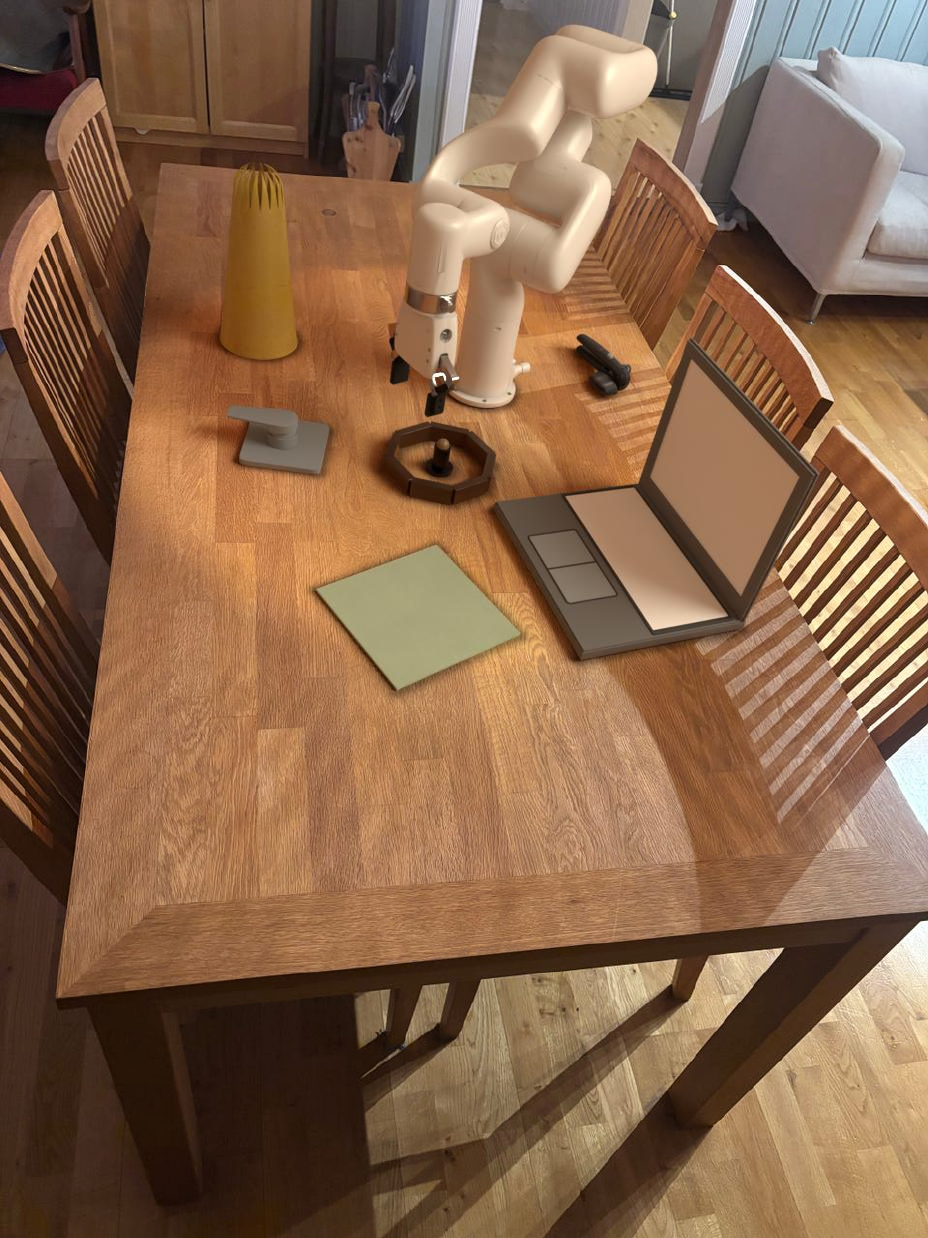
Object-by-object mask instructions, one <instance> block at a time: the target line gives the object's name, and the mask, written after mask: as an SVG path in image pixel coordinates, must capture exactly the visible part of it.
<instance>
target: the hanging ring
mask: <svg viewBox="0 0 928 1238" xmlns="http://www.w3.org/2000/svg"><path fill="white" fill-rule="evenodd" d="M440 439H446V440H447V441H448V442H449V444H450V446H454V447H455V446H456V447H459V448H463V449H465V450H466V451H467V452H468V453H469V454H470V455H471V456H472V457H473V458H474V459H475V460H476V461H478V462H479V464H481V465H482V466H483V472H482V474H481V475H478V476H475V477H471V478H469V479H466V480H463V481H460V482H457V483H454V484H449V483H444V482H440V481H436V480H435V481H434V480H430V479H427V478H426V479H425V478H422V477H416V476H414V475H413V474H412V472H410V470H409V469H407V468H406V466H404V465H403V464H402V463H401V461H399V459H398V458H397V457H398V455H399V452H400V450H402V449H405V448H407V447H411V446H415V445H418V444H421V443H424V442H427V441H432V442H435V443H436V442H438V440H440ZM496 458H497V453H496V451H495V450H494V449H492V448H491V447H490V445H488V444H487V443H486V442H485V441H484V440H482V438H480V436H479V435H478V434H476V433H475V432H474V431H473V430H470V429H469V428H464V427H460V426H455V425H452V424H451V425H450V424H446V423H442V422H436V421H432V420H431V421H430V422H429V420H427V421H424V422H421V423H417V424H413V425H410V426H406V427H403V428H400V429H399V428H398V429H396V430H395V431H394V432H392V434H391V437H390V440H389V442H388V445H387V448H386V451H385V453H384V457H383V472H384V473H385V474H386V475H387V476H388V477H389V478H390V480H392V481H393V482H394V483H395V485H397V487H398V488H399V489H401V491H402V492H403V493H404V494H405V495H406V496H407V495H408V496H409V497H411V498H417V499H421V500H425V501H429V502H434V503H440V504H443V505H448V506H450V505H453V506H456V505H457V504H461V503H462V502H466V501H469V500H471V499H475V498H477V497H480V496H483V495H486V494H487V493H489V490H490V485H491V481H492V477H493V472H494V468H495V464H496V460H497V459H496Z"/></svg>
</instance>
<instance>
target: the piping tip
mask: <svg viewBox="0 0 928 1238" xmlns="http://www.w3.org/2000/svg"><path fill="white" fill-rule="evenodd" d="M251 164H252V165H251ZM255 164H256V162H253V163H252V162H249V163H247V164H244V165H242V166H241V167H239V169H238V170H237V171H236V173H235V175H234V177H233V182H232V183H233V184H232V194H231V195H232V196H231V206H230V207H231V208H230V220H229V233H228V242H227V243H228V245H227V258H226V267H225V268H226V270H225V282H224V291H223V293H224V294H223V303H222V304H223V305H222V317H221V327H220V331H219V342H220V343H221V345H222V346H223V347H224V348H225V349H226V350H227V351H229V352H230V353H232V354H234V355H236V356H239V357H242V358H245V359H251V360H259V361H268V360H275V359H280V358H283V357H286V356H288V355H290V354H292V353H294V352H295V350H296V349H297V347H298V344H299V338H298V335H297V328H296V319H295V308H294V296H293V284H292V283H293V282H292V274H291V262H290V251H289V238H288V227H287V226H288V225H287V216H286V214H287V213H286V203H285V193H284V185H283V180H282V177H281V175H280V174H279V172H278V171H277V170H276V169H274V168H273V167H272V166H270V165H268V164H266V163H264V166H266V169H267V172H265V170H264V166H263V164H262V163H261V162H259V168H258V171H256V168H255V167H256V165H255ZM249 165H251V166H250V169H248V167H249ZM248 171H249V175H248V176H247V173H248ZM265 174H266V175H265ZM240 175H241V176H240ZM266 176H267V184H266ZM274 180H275V181H274Z"/></svg>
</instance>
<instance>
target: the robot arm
mask: <svg viewBox="0 0 928 1238" xmlns="http://www.w3.org/2000/svg"><path fill="white" fill-rule="evenodd" d="M657 76H658V59H657V56H656V53H655V52H654V51H653V50H652V49H651V48H650V47H649V46H647V45H644V44H643V43H642V44H641V43H639V42H635V41H632V40H629V39H626V38H623V37H621V36H617V35H614V34H612V33H609V32H606V31H603V30H599V29H596V28H593V27H590V26H586V25H581V24H567V25H564V26H562V27H560V28H559V29H558V30H557V31H556V32H555V33H554V35H547V36H546V37H543V38H542V39H540V40H539V41H538V42H537V43H536V45H535V46H534V47H533V49H531V51H530V53H529V55H528V57H527V59H526V60H525V62H524V64H523V65H522V67H521V69H520V71H519V72H518V74H517V75H516V78H515V79H514V80H513V82H512V84H511V86H510V88H509V89H508V91H507V93H506V95H505V96H504V98H503V100H502V101H501V102H500V104H499V106H498V108H497V110H496V112H495V113H494V115H493V116H492V117H491V118H490V119H489V120H486V121H484V122H482V123H479V124H477V125H475V126H473V127H471V128H469V129H467V130H465V131H464V132H461V133H460V134H459V135H457V136H456V137H454V138H453V139H451V140H450V141H448V142H447V143H446V144H445V145H444V146H442V147H441V149H440V150H439V151H438V152H437V153H436V154H435V156H434V158H433V159H432V161H431V162H430V164H429V165H428V168H427V169H426V171H425V173H424V174H423V176H422V178H421V179H420V181H419V183H418V186H417V188H416V189H415V192H414V195H413V198H412V200H411V201H412V202H411V207H410V215H411V219H412V222H413V223H412V231H411V239H410V246H409V247H410V248H409V254H408V263H407V271H406V278H405V287H404V294H403V297H402V300H401V304H400V306H399V311H398V316H397V320H396V322H390V323H388V324H387V329H388V336H389V339H388V343H389V346H390V350H391V352H390V355H389V356H390V358H391V360H392V361H391V367H390V375H389V383H390V384H391V385H398V384H402V383H403V384H404V383H406V382H408V381H409V378H410V370H411V367H412V368H413V369H414V370H415V371H416V372H417V373H418V374H419V375H421V376H422V377H423V378H425V379H426V380H427V383H428V388H429V391H430V392H428V393H427V394H426V399H425V400H426V401H425V408H424V416H425V417H426V418H430V417H435V416H438V415H442V414H443V413H444V410H445V404H446V399H447V394H449V395H450V396H451V397H452V398H454V399H455V400H457V401H458V402H461V403H463V404H465V405H468V406H471V407H475V408H481V409H493V408H499V407H503V406H505V405H507V404H509V403H510V402H512V400H513V399H514V397H515V395H516V390H517V389H516V384H515V382H514V379H515V378H517V377H518V376H519V375H524V374H527V373H530V371H531V365H530V363H529V362H528V361H523V362H519V363H517V361H516V359H515V357H514V355H515V350H516V345H517V341H518V336H519V331H520V326H521V320H522V317H523V313H524V308H525V307H524V306H525V291H524V287H523V286H524V285H525V286H527V287H529V288H532V289H534V290H537V291H539V292H542V293H545V294H550V295H554V294H557V293H560V292H561V291H562V290H563V289H565V288H566V286H567V285H568V284H569V283H570V281H571V280H572V277H573V276H574V274H575V272H576V271H577V269H578V267H579V265H580V263H581V262H582V260H583V257H584V256H585V255H586V252H587V250H588V249H589V247H590V245H591V243H592V242H593V239H594V238H595V236H596V234H597V232H598V230H599V228H600V227H601V224H602V223H603V221H604V218H605V216H606V214H607V211H608V209H609V205H610V202H611V196H612V184H611V180H610V178H609V177H608V175H607V173H605V172H604V171H603V170H601V169H599V168H598V167H596V166H593V165H592V164H591V165H590V164H588V163H585V162H582V161H583V159H584V157H585V155H586V153H587V152H588V149H589V148H590V146H591V142H593V141H592V140H593V135H594V134H593V133H594V132H593V123H592V119H591V118H594V119H597V120H610V119H613V118H616V117H619V116H621V115H623V114H626V113H628V112H631V111H633V110H635V109H637V108H638V107H639V106H641V105H642V104H643V103H644V102H645V101H646V99H647V98H648V97H649V95H650V94H651V92H652V91H653V88H654V86H655V83H656V81H657ZM515 163H517V165H516V167H515V169H514V171H513V173H512V176H511V178H510V182H509V186H508V194H509V198H510V200H511V201H512V203H513V204H514V205H515V206H517V207H518V208H520V209H522V210H523V211H525V212H527V213H529V214H532V215H534V216H536V217H539V218H541V219H544V220H547V221H549V222H552V223H554V224H556V225H559V227H557V226H554V225H552V224H549V223H548V222H545V221H542V220H539V219H537V218H536V217H533V216H530V215H528V214H525V213H523V212H520V211H518V210H516V209H513V208H509V207H505V206H502V205H501V204H500V203H498V202H496V201H495V200H493V199H490V198H488V197H486V196H483V195H480V194H478V193H475V192H473V191H471V190H469V189H466V188H465V187H462V186H459V185H457V183H458V182H459V181H460V180H461V179H462V178H463V177H465V175H467V174H469V173H470V172H473V171H475V170H478V169H480V168H483V167H488V166H495V165H505V164H506V165H507V164H515ZM466 259H469V261H470V262H469V281H468V288H467V294H466V295H467V296H466V301H465V307H464V313H463V319H462V325H461V331H460V337H459V344H458V329H459V328H458V327H459V326H458V314H457V311H456V309H457V300H458V294H459V287H460V281H461V275H462V269H463V263H464V260H466ZM458 345H459V346H458ZM457 346H458V352H457ZM456 356H457V357H456ZM455 363H456V364H455ZM516 363H517V364H516ZM437 370H438V372H436V371H437ZM438 378H439V380H440V385H437V383H436V379H438Z"/></svg>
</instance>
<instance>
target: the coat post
mask: <svg viewBox="0 0 928 1238" xmlns="http://www.w3.org/2000/svg"><path fill="white" fill-rule="evenodd" d="M451 449H452V445H450V444H449V442H448V441H447V440H446V439H440V440H438V442H436V441H435V443H434V444H433V451H432V452H433V453H432V457H431V458H429V459H428V460H427V461H426V462H425V471H426V472H427V473H428V474H429V475H431V476H433V477H436V478H446V477H449V476H450V475H452V473H453V471H454V464H453V463H452V462H451V461H450V455H451Z"/></svg>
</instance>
